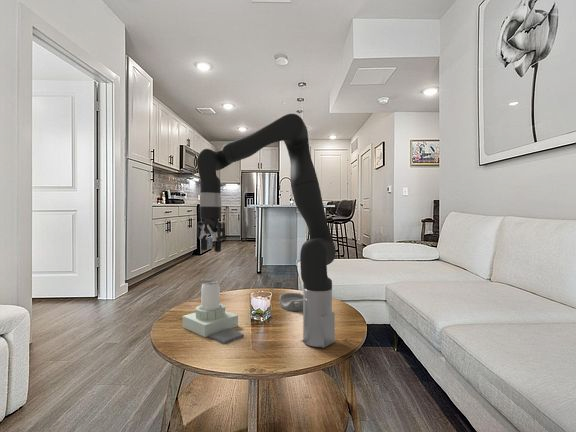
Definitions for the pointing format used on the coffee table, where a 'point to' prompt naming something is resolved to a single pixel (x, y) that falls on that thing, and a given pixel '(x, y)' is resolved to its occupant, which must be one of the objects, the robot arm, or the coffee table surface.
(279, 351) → the coffee table surface
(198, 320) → the pedestal block
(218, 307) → the can
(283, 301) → the dish
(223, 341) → the slate coaster
